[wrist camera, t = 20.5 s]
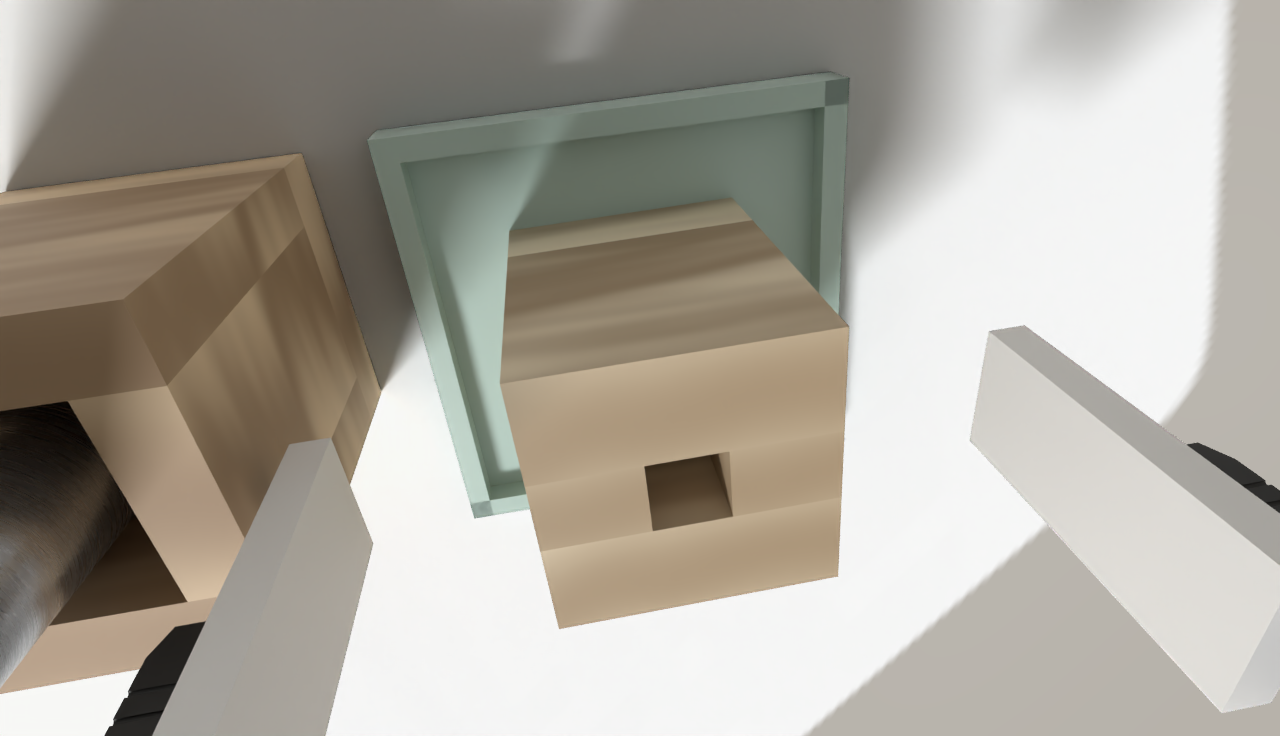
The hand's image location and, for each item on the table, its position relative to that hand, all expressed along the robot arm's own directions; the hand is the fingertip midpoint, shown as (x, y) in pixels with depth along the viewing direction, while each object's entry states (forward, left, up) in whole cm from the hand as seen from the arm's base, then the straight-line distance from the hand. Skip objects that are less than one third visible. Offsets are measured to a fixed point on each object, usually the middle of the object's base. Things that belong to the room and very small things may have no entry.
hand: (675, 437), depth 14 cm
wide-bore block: (-2, -11, -7) cm, 13 cm away
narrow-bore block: (0, 0, -7) cm, 7 cm away
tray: (0, 0, -7) cm, 7 cm away
